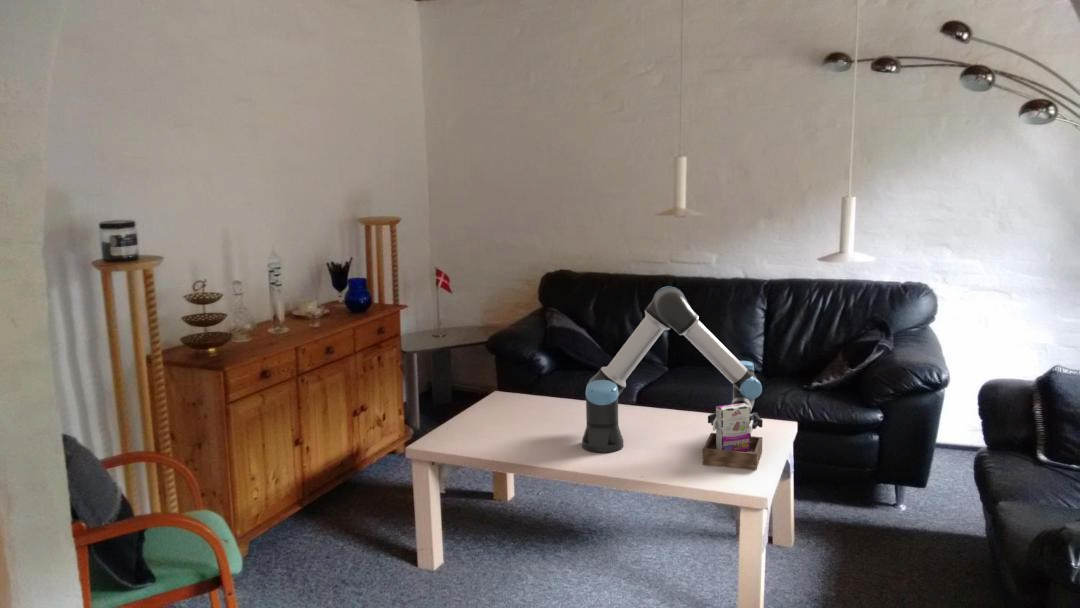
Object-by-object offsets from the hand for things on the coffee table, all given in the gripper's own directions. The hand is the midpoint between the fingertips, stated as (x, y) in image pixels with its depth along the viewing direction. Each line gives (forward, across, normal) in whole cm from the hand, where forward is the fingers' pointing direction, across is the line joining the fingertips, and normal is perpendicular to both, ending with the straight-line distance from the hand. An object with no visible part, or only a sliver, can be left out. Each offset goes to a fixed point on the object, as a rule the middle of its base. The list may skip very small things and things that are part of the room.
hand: (731, 428), depth 294 cm
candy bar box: (-4, 0, -10) cm, 11 cm away
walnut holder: (-4, 0, -12) cm, 13 cm away
